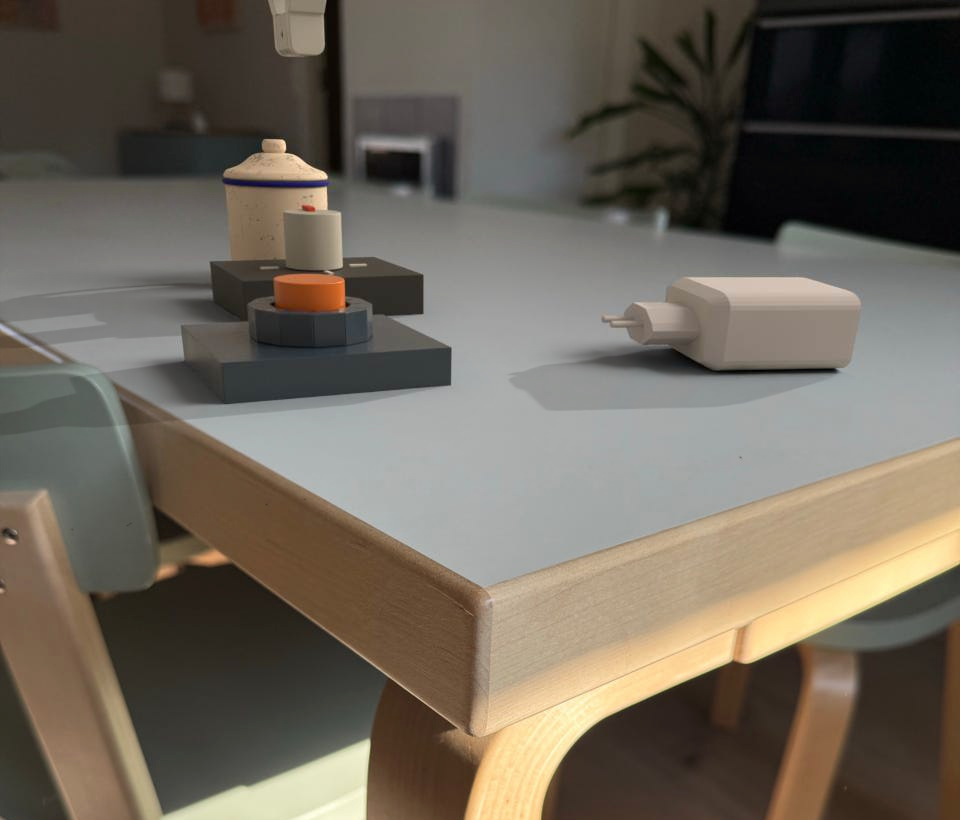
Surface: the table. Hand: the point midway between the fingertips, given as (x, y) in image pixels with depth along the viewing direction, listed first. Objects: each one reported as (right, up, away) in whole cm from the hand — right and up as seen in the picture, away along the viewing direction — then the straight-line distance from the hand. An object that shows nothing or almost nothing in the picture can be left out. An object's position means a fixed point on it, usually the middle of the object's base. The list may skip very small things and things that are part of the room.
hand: (300, 55), depth 51 cm
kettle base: (-4, -4, +28) cm, 28 cm away
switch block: (-1, -14, +8) cm, 16 cm away
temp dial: (-4, -1, +26) cm, 27 cm away
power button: (0, -11, +6) cm, 13 cm away
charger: (+25, -12, +15) cm, 31 cm away
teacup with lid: (-9, +2, +39) cm, 40 cm away
